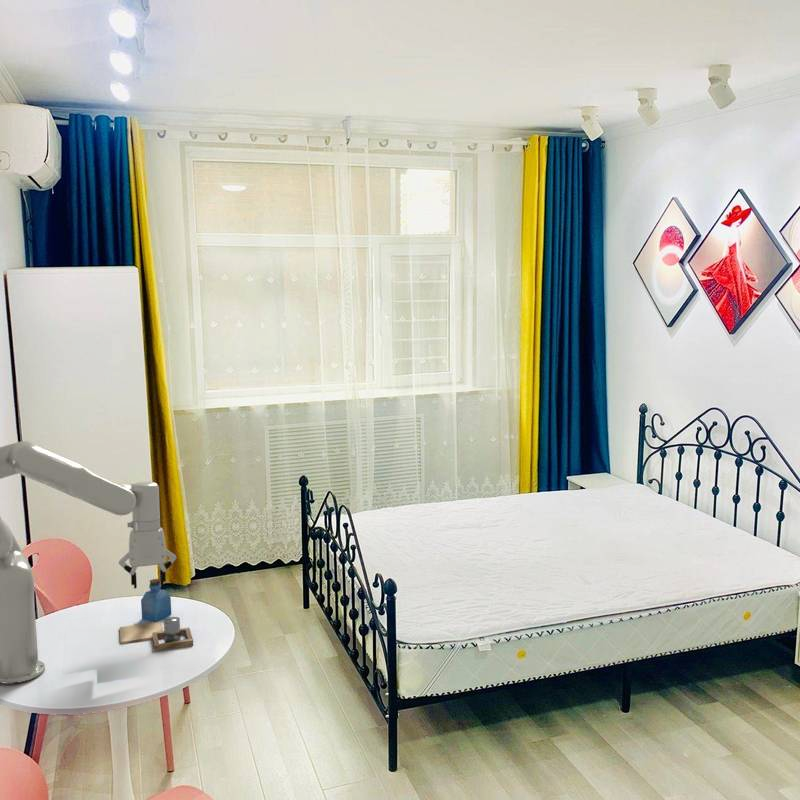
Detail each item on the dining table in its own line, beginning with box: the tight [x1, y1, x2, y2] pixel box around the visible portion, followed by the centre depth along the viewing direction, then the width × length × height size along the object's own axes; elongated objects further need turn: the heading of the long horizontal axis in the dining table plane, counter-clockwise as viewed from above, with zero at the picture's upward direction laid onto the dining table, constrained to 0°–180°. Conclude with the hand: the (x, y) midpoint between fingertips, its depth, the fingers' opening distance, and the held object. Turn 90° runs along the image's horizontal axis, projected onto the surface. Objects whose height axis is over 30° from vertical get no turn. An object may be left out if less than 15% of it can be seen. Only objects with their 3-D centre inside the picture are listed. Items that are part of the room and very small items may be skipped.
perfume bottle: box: [140, 578, 172, 623], centre depth 249 cm, size 6×6×12 cm
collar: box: [152, 627, 194, 652], centre depth 231 cm, size 10×10×2 cm
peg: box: [163, 616, 182, 643], centre depth 230 cm, size 4×4×6 cm
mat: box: [119, 620, 165, 645], centre depth 237 cm, size 12×12×1 cm
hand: (148, 585), depth 233 cm, fingers open, 6 cm apart
